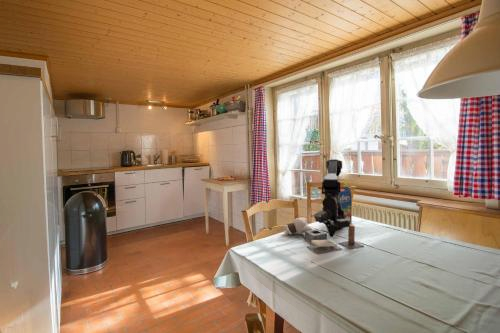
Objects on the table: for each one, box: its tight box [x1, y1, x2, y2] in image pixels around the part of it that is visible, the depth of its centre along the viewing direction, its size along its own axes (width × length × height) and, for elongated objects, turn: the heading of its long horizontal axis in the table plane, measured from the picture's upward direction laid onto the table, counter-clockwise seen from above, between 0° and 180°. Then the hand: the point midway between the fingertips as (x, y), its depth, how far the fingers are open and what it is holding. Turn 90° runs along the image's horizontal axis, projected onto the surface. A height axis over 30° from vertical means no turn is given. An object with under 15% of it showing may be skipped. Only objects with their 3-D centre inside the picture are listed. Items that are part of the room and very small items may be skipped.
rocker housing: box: [306, 244, 343, 255], centre depth 120 cm, size 13×9×2 cm
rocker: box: [310, 239, 338, 247], centre depth 120 cm, size 10×6×1 cm, turn 110°
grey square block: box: [304, 228, 328, 243], centre depth 131 cm, size 8×8×4 cm
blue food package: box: [339, 182, 353, 224], centre depth 159 cm, size 6×12×25 cm, turn 106°
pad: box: [338, 240, 365, 250], centre depth 123 cm, size 8×8×1 cm
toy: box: [282, 217, 314, 236], centre depth 141 cm, size 13×9×15 cm
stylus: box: [347, 224, 356, 245], centre depth 123 cm, size 3×3×9 cm
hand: (331, 237), depth 123 cm, fingers closed
